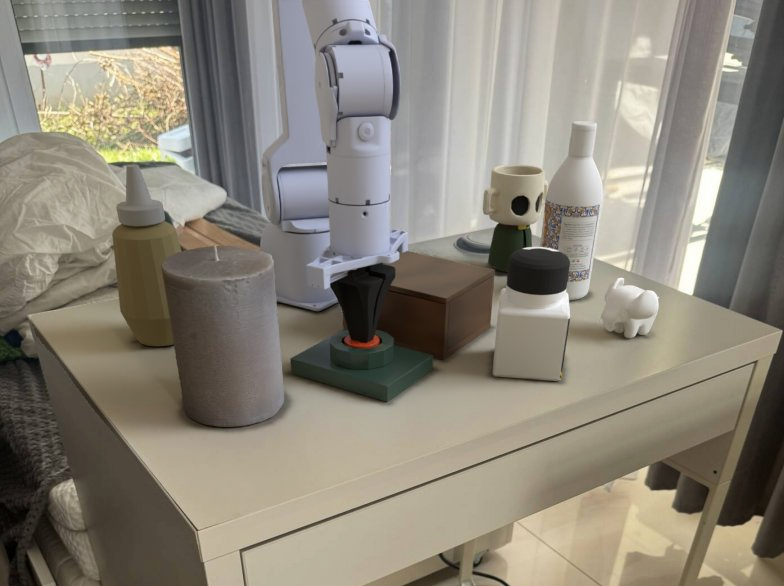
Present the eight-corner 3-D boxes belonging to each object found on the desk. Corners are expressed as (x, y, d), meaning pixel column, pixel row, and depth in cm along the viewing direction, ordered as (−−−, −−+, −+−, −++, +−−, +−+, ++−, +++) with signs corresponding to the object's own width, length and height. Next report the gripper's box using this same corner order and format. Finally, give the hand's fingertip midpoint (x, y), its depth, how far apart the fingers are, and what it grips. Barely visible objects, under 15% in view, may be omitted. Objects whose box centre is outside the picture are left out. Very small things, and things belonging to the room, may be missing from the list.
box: (343, 334, 90) (341, 280, 86) (395, 305, 97) (395, 255, 94) (443, 360, 84) (446, 304, 80) (490, 327, 92) (494, 275, 88)
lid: (335, 277, 86) (335, 272, 86) (390, 252, 94) (390, 247, 94) (446, 304, 80) (446, 298, 80) (494, 274, 88) (495, 269, 88)
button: (337, 357, 80) (337, 340, 79) (357, 345, 82) (357, 329, 81) (366, 365, 78) (366, 348, 77) (386, 353, 81) (386, 337, 80)
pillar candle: (167, 399, 76) (138, 241, 67) (256, 374, 80) (239, 224, 71) (213, 439, 69) (187, 271, 60) (305, 409, 74) (294, 250, 65)
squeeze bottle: (112, 337, 88) (74, 165, 77) (173, 319, 92) (145, 154, 82) (152, 358, 83) (117, 178, 72) (214, 337, 88) (190, 166, 77)
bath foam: (541, 281, 106) (561, 116, 94) (592, 288, 104) (619, 120, 92) (529, 297, 100) (548, 124, 88) (582, 304, 98) (609, 129, 86)
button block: (290, 373, 81) (288, 341, 79) (341, 345, 87) (339, 315, 85) (387, 402, 76) (387, 369, 74) (432, 370, 82) (434, 338, 80)
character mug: (494, 282, 105) (503, 179, 97) (463, 268, 110) (469, 168, 102) (554, 269, 110) (567, 170, 102) (522, 256, 114) (532, 160, 107)
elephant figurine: (581, 329, 92) (589, 279, 88) (632, 318, 95) (642, 269, 91) (620, 350, 87) (630, 298, 83) (672, 337, 90) (684, 287, 87)
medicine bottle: (560, 382, 80) (578, 265, 73) (492, 377, 81) (502, 260, 74) (559, 355, 86) (575, 243, 78) (495, 350, 86) (505, 239, 79)
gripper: (349, 222, 64) (353, 373, 73) (435, 189, 74) (431, 325, 83) (283, 209, 67) (294, 356, 75) (375, 179, 77) (376, 312, 85)
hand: (361, 339), depth 79 cm, fingers closed, pressing on button
